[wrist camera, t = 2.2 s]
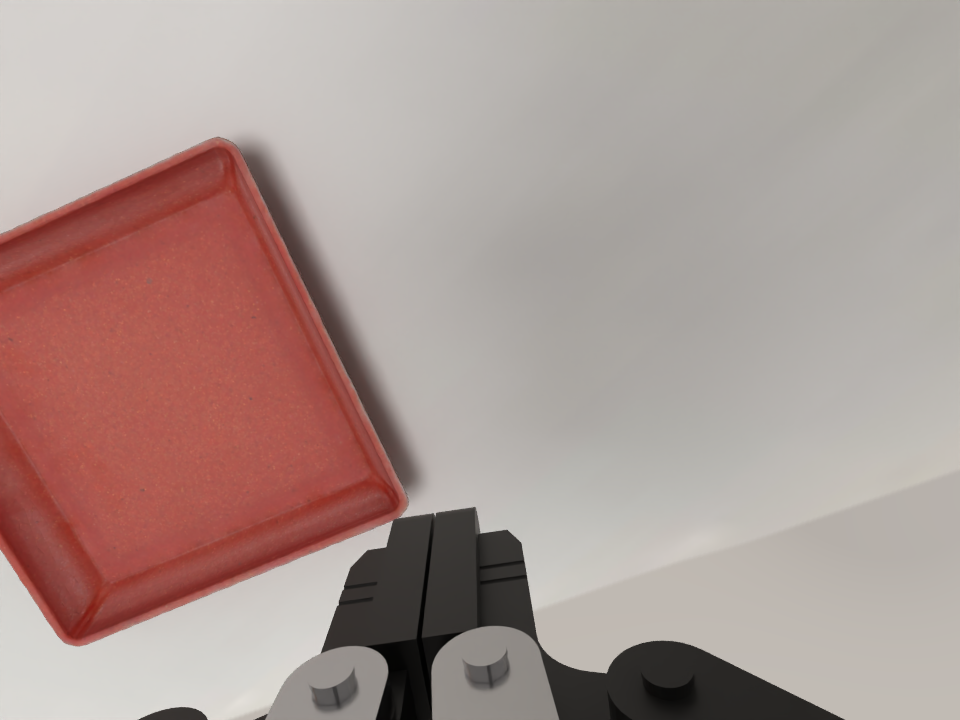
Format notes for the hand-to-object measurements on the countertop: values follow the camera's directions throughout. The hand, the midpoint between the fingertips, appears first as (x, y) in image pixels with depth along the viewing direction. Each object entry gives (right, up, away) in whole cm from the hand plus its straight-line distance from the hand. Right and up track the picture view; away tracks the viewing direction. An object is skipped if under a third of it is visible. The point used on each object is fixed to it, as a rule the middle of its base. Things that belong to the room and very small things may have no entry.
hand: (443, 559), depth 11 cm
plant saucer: (-14, +2, +19) cm, 24 cm away
